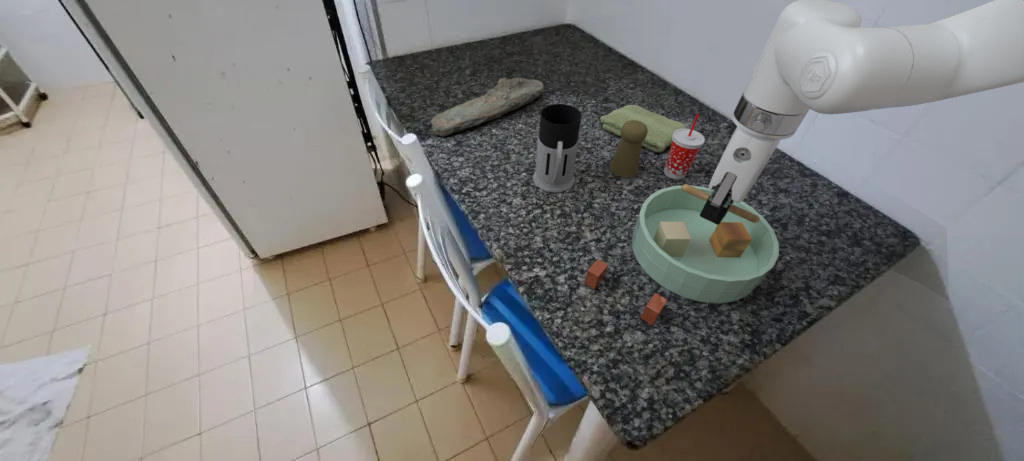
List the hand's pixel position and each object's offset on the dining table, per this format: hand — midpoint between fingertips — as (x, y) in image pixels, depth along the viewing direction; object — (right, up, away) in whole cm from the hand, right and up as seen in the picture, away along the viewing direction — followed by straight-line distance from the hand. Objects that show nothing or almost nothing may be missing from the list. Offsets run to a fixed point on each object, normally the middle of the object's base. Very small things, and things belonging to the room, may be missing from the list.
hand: (711, 216), depth 63 cm
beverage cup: (+3, +10, +21) cm, 24 cm away
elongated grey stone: (-38, +28, +38) cm, 61 cm away
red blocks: (-15, -13, -1) cm, 20 cm away
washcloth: (-1, +22, +32) cm, 39 cm away
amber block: (+5, -5, +5) cm, 9 cm away
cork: (-8, +11, +22) cm, 26 cm away
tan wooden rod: (0, +2, -2) cm, 3 cm away
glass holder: (-24, +6, +18) cm, 30 cm away
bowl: (0, -6, +6) cm, 8 cm away
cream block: (-5, -5, +5) cm, 9 cm away
